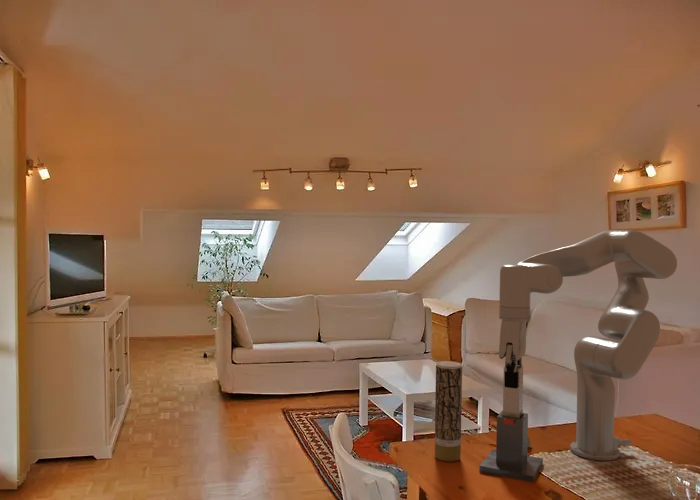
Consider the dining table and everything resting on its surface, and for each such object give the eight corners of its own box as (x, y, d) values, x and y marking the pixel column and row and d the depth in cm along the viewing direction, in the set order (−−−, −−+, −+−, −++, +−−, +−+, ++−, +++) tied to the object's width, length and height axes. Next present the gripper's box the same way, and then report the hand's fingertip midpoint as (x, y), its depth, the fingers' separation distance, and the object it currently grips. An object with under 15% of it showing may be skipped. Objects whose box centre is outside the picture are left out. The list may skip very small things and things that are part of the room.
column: (505, 432, 151) (507, 363, 150) (522, 435, 149) (523, 365, 148) (501, 437, 147) (503, 366, 147) (518, 440, 145) (520, 368, 145)
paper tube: (460, 463, 150) (462, 367, 150) (433, 461, 152) (435, 366, 151) (460, 454, 157) (462, 361, 156) (435, 452, 158) (436, 360, 158)
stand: (492, 454, 157) (493, 404, 157) (542, 464, 151) (543, 412, 150) (479, 471, 145) (480, 418, 145) (533, 482, 139) (534, 426, 139)
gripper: (507, 308, 156) (505, 376, 157) (491, 316, 141) (490, 391, 142) (536, 310, 153) (534, 380, 153) (522, 318, 138) (521, 395, 138)
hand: (513, 384), depth 148 cm, fingers closed on column, 4 cm apart
